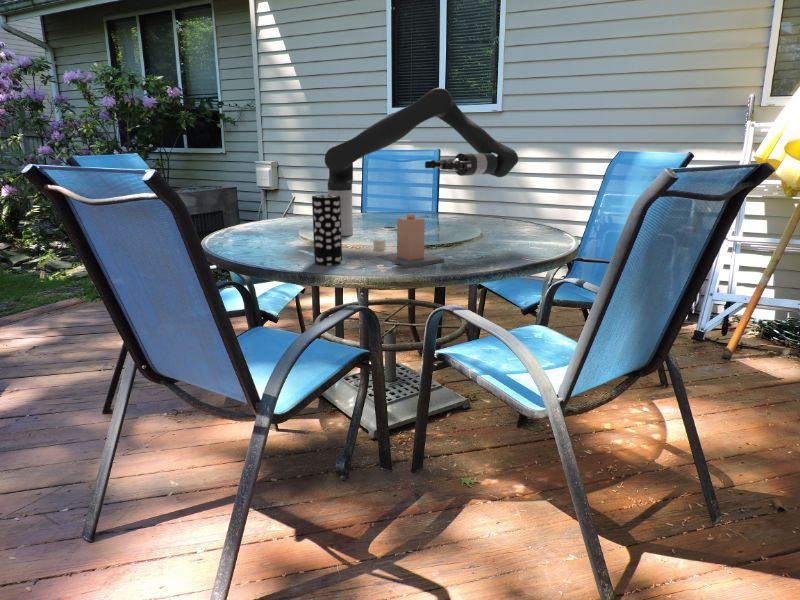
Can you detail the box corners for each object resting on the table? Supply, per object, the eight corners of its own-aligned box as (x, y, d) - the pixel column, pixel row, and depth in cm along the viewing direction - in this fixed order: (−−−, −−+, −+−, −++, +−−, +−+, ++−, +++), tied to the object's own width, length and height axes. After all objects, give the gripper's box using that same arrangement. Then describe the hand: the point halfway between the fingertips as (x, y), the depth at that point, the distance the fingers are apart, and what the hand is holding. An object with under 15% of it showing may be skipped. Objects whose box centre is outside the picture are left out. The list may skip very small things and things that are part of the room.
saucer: (357, 255, 181) (357, 243, 180) (366, 248, 192) (366, 236, 191) (393, 256, 179) (393, 244, 178) (400, 249, 190) (400, 237, 189)
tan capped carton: (397, 256, 175) (397, 214, 171) (412, 254, 178) (412, 212, 174) (408, 260, 170) (409, 216, 166) (424, 257, 173) (424, 214, 170)
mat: (376, 259, 176) (376, 256, 175) (414, 253, 184) (414, 250, 184) (405, 268, 164) (405, 264, 164) (444, 261, 173) (444, 258, 172)
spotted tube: (315, 266, 166) (312, 198, 160) (314, 260, 174) (311, 195, 168) (343, 265, 168) (341, 197, 162) (340, 259, 176) (338, 194, 170)
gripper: (456, 152, 195) (420, 152, 185) (486, 153, 184) (448, 154, 174) (456, 174, 197) (419, 175, 188) (484, 176, 186) (448, 178, 177)
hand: (433, 165), depth 181 cm, fingers open, 8 cm apart
